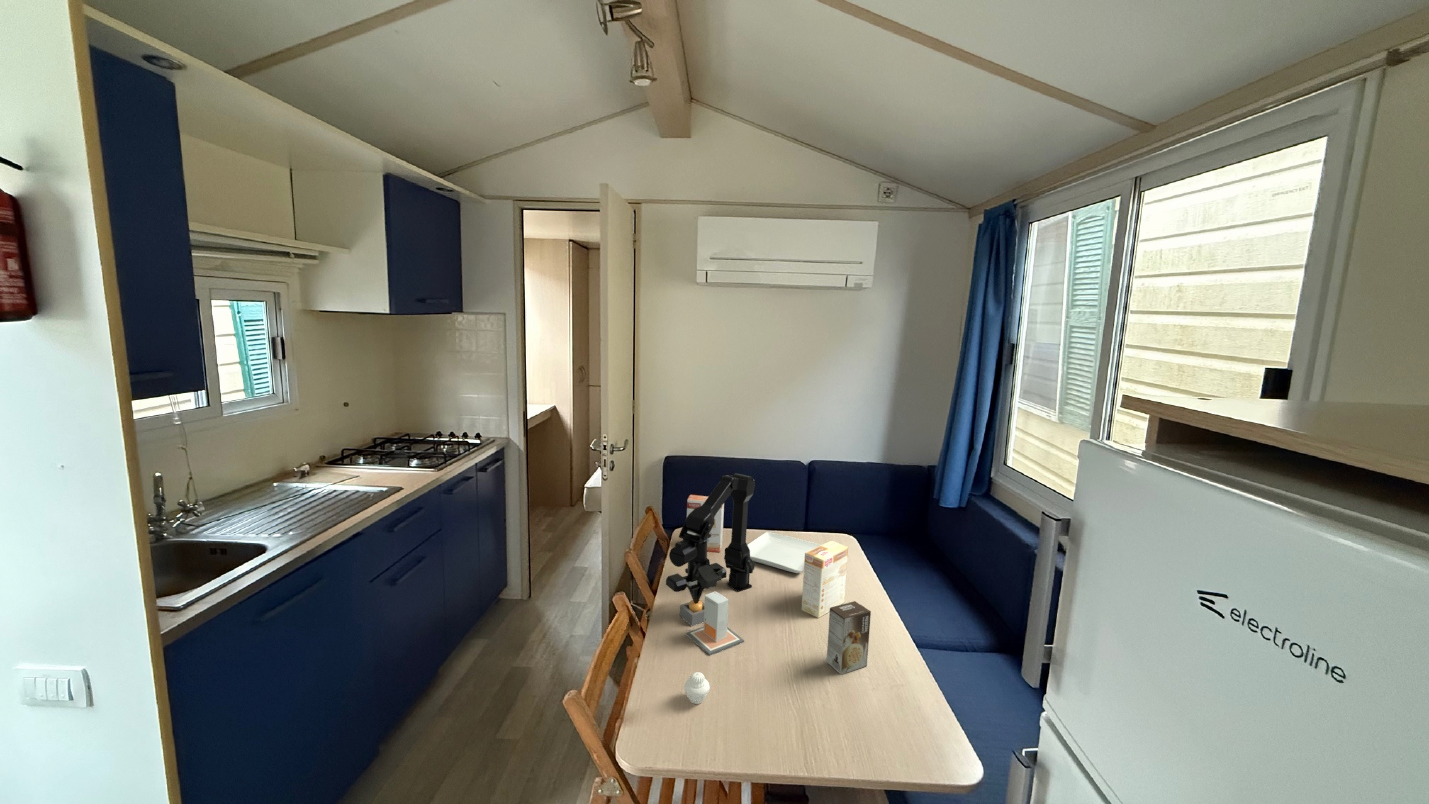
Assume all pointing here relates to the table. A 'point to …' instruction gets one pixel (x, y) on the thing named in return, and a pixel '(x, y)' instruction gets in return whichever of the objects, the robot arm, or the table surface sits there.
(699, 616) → the button housing
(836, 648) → the coffee box
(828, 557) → the coffeecake box
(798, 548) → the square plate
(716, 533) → the cracker box
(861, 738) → the table surface
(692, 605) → the button
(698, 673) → the white lidded jar
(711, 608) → the skincare box
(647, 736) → the table surface
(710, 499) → the robot arm
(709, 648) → the picture board
